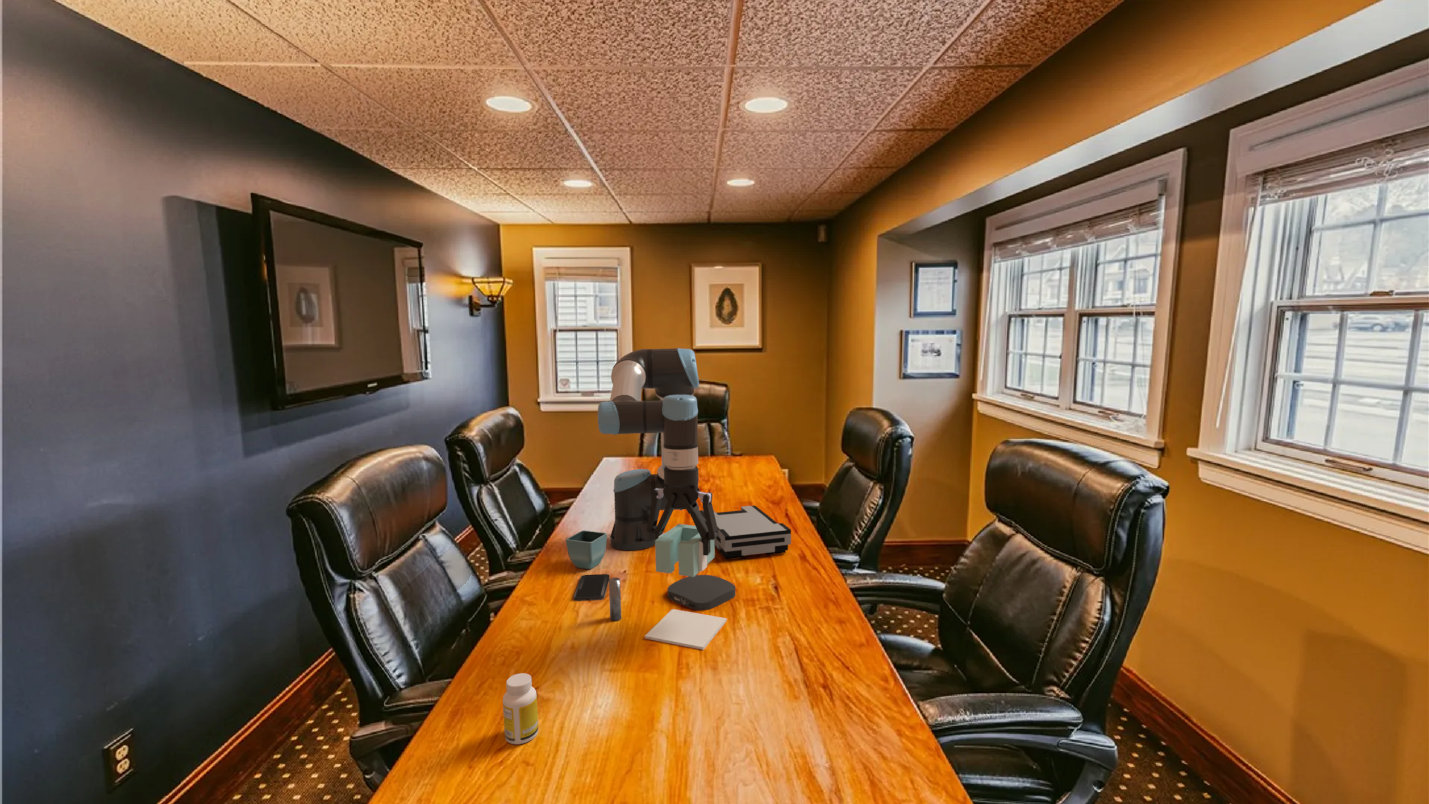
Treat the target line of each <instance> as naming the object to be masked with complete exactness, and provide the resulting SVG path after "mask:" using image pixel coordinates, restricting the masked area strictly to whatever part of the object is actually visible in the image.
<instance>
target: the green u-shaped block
mask: <svg viewBox="0 0 1429 804" xmlns="http://www.w3.org/2000/svg"><path fill="white" fill-rule="evenodd" d="M664 533H665V534H664V535H662V536H661V537H659V538H658V539H656V540H655V545H654V547H655V549H654V551H655V553H654V554H655V572H658V573H662V574H663V573H664V574H670V575H671V574H672V573H673V572H674V571H675V565H676V563H678V575H679V576H683V577H689V576H690V577H694V576H695V575H699V573H700V572H701V571H699V541H700V540H702V539H701V537H700V534H699V532H698V530H697V528H696V526H695V525H690V524H683V523H678V524H676V525H675V526H674V527H672V528H670V529H669V530H668V531H666V532H664ZM710 545H711V552H710V554H709V555H708V556H707V565H708V564H710V563H711V562H712V560H713V559H715V557H716V556H715V555H716V553H715V551H716V550H715V549H716V547H715V546H714V540H711V541H710Z"/></svg>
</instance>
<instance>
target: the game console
mask: <svg viewBox="0 0 1429 804" xmlns="http://www.w3.org/2000/svg"><path fill="white" fill-rule="evenodd" d="M699 510H700V509H699ZM700 513H701V515H702V517H703V519H704V521H705V523H706V519H705V515H704V511H703V509H701V510H700ZM714 515H715V519H716V523H717V528H718V532H719V535H718V536H717V537H716V538H715V539H714V547H715V549H716V550H717V551H718V552H719V554H721V556H722V557H723V558H724V559H725V560H735V559H744V558H746V556H750V555H758V554H759V555H760V554H766V555H767V556H769V555H778V554H779V555H780V554H785V553H786V551H788V550H789V545H791V544H792V529H791V528H789V527H788V526H787V525H786V524H784V523H783V522H779V523H778V522H777V520H774V519H773V518H772V517H770V515H768V514H766V513H765V512H764V511H763V510H762V509H760V508H759V507H758V506H756V505H746V506H745V505H744V506H740V510H729V511H719V512H716V511H715V510H714ZM706 525H707V524H706Z"/></svg>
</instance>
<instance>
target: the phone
mask: <svg viewBox="0 0 1429 804" xmlns="http://www.w3.org/2000/svg"><path fill="white" fill-rule="evenodd" d="M609 579H610V574H608V573H602V574H601V573H599V574H598V573H597V574H583V575H581V576H580V578H579V581H578V583H577V586H576V589H575V591H574V594H573V601H575V602H582V601H586V602H587V601H602V600H604V599H605V597H606V594H607V589H608V587H609Z"/></svg>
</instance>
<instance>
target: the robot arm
mask: <svg viewBox="0 0 1429 804" xmlns="http://www.w3.org/2000/svg"><path fill="white" fill-rule="evenodd" d="M698 373H699V372H698V367H697V360H696V354H695V351H694V350H692V348H691V349H690V348H679V347H677V348H641V349H637V350H633V351H630V352H629V353H627V354H625V355H624V356H622V357H621V358H619V359H618V360H617V361H616V363H615V364H614V365H613V367H612V369H611V372H610V378H611V383H612V388H611V392H610V393H611V394H610V397H609V398H610V399H609V400H608V401H601V402H599V404H598V407H597V425H598V431H599V432H600V434H602V435H603V434H604V435H628V434H629V435H630V434H632V435H633V434H634V435H635V434H660V439H661V440H660V441H661V442H660V445H661V446H660V447H661V465H660V466H659V467H658V468H657V470H656V473H651V471H650V469H647V468H637V469H631V470H627V471H623V472H620V473H619V474H618V475H615V478H614V480H613V491H612V492H613V494H614V499H613V500H614V523H613V527H612V530H611V532H610V536H609V544H610V546H611V547H612V548H614V549H616V550H621V551H640V550H645V549H648V548H652V547H655V540H656V539H658V538H659V537H661V536H662V535H664V534H665V533H666V532H665V529H666V528H667V525H668V522H669V520H670V518H671V517H672V514H673V512H674V511H676V510H678V511H683V510H686V512H687V514H689V515H690V517H691V519H692V522H693V523H694V526H696V528H697V530H698V532H699V534H700V537H701V539H702V540H700V541H699V571H700V572H703V571H704V570H706V568H707V567H708V564H707V556H708V555H709V554H710V552H711V545H710V541H711V540H714V539H715V538H716V537H717V536H718V535H719V532H718V528H717V523H716V519H715V515H714V511H715V510H714V506H713V493H712V492H711V491H709V492H703V491H701V490H700V488H699V467H698V466H697V465H699V445H698V444H699V443H698V434H699V433H698V431H699V429H698V422H699V421H698V414H699V409H698V399H697V397H696V396H694V394H695V390H696V389H698V388H700V380H699V374H698ZM644 389H645V390H646V389H647V390H654V389H655V390H654V391H655V392H654V393H655V395H656V397H658V398H659V399H660V400H659V399H658V400H642V390H644ZM698 499H700V502H701V503H702V510H703V511H704V515H705V519H706V523H705V521H704V519H703V517H702V515H701V513H700V506H699V504H698V502H697V500H698ZM660 511H662V515H661V516H660V518H659V515H660ZM706 524H707V525H706Z"/></svg>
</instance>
